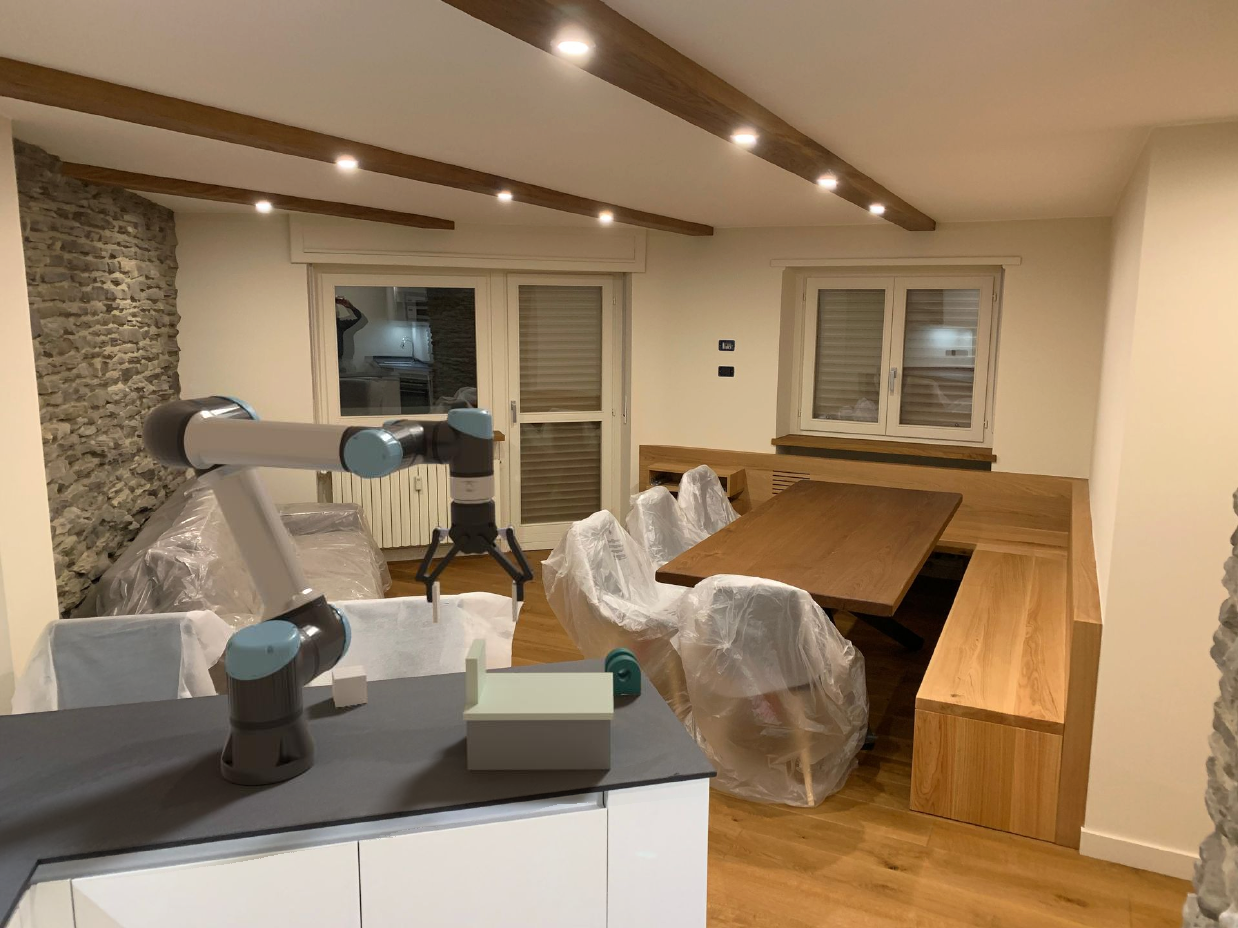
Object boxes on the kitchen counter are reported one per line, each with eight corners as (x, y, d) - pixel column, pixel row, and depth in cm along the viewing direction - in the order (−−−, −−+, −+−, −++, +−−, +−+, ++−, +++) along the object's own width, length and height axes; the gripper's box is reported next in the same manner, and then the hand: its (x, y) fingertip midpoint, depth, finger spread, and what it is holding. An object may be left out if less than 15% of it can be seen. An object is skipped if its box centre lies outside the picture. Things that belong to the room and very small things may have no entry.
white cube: (335, 708, 176) (334, 679, 175) (332, 697, 181) (331, 668, 180) (367, 703, 178) (366, 674, 177) (363, 692, 183) (362, 664, 183)
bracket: (636, 682, 189) (636, 647, 188) (640, 695, 183) (641, 658, 181) (550, 686, 187) (550, 650, 186) (552, 699, 180) (552, 662, 179)
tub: (467, 769, 151) (466, 719, 149) (481, 726, 168) (480, 680, 166) (610, 769, 151) (610, 718, 150) (610, 725, 168) (610, 679, 167)
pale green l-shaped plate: (463, 728, 149) (461, 667, 148) (478, 686, 167) (477, 631, 165) (613, 728, 149) (613, 666, 148) (612, 686, 167) (612, 631, 166)
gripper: (394, 504, 149) (399, 627, 152) (544, 502, 149) (546, 625, 152) (404, 496, 156) (409, 613, 159) (547, 494, 157) (549, 612, 160)
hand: (476, 620), depth 156 cm, fingers open, 13 cm apart
